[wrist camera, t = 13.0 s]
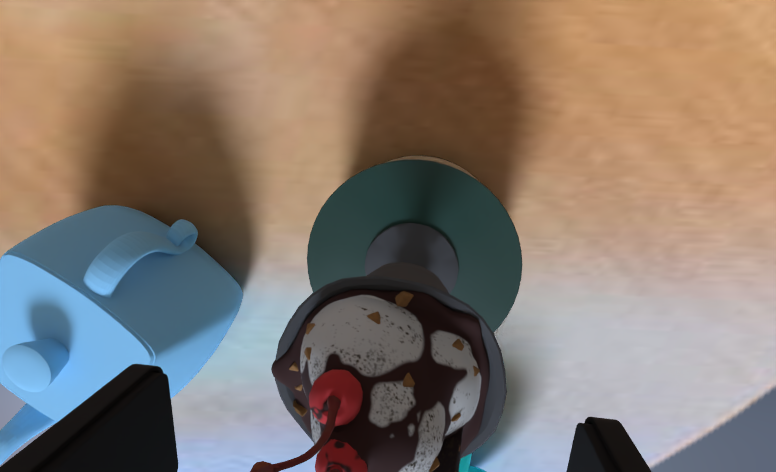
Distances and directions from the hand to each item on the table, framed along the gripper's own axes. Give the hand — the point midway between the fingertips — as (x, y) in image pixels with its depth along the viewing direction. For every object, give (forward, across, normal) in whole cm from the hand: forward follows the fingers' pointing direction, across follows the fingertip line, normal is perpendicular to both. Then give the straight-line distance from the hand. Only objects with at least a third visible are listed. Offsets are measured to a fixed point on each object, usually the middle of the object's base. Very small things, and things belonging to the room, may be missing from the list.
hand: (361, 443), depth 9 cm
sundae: (+13, 0, 0) cm, 13 cm away
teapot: (+20, +20, +7) cm, 29 cm away
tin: (+20, 0, 0) cm, 20 cm away
